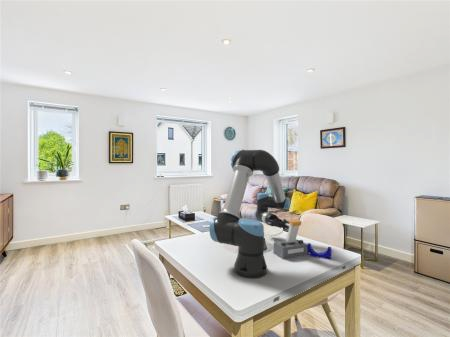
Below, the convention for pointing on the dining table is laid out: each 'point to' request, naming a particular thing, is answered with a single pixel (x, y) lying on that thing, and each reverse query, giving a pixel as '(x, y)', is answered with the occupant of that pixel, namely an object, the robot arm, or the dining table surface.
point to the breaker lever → (293, 230)
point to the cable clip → (324, 255)
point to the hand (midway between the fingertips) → (293, 228)
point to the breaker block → (290, 249)
